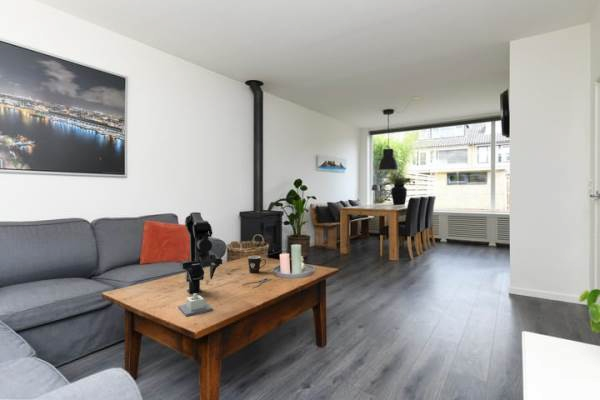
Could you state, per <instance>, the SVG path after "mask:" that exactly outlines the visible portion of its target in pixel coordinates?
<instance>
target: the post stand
mask: <svg viewBox="0 0 600 400" xmlns="http://www.w3.org/2000/svg"><path fill="white" fill-rule="evenodd" d="M197 296H198V292H197V293H192V297H193V300H196V299H197ZM177 309H178V310H179V311H180V312H181V313H182V314H183V315H184V317H189V316H193V315H198V314H202V313H207V312H211V311H213V310H214V309H213V307H212V306H211V305H210V304H208V303H207V302H206V301H205V300H204V308H200V309H195V310H190V309H189V308H188V307H187V303H186V304H181V305H178V306H177Z"/></svg>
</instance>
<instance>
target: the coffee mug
mask: <svg viewBox="0 0 600 400" xmlns="http://www.w3.org/2000/svg"><path fill="white" fill-rule="evenodd" d="M247 261H248V270H249V274H258V273H260V269H262V268H263V267H265V265H266V263H267V260H266V259H262V258H261V256H259V255H251V256H248V257H247ZM262 261H264V264H263V265H262V266H261V262H262Z"/></svg>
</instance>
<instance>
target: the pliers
mask: <svg viewBox="0 0 600 400" xmlns="http://www.w3.org/2000/svg"><path fill="white" fill-rule="evenodd" d="M271 280H272V279H271V278H268V277H266V278H263V279H260V280H257V281H252V282H246V283H243V284H241V286H242V287H243V286H246V285H248V284H257V283H258V285H255V286H253V287H252V289H255V288H258V287H260V286H261V285H262V284H264V283H266V282H269V281H271Z"/></svg>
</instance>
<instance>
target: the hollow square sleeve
mask: <svg viewBox="0 0 600 400" xmlns="http://www.w3.org/2000/svg"><path fill="white" fill-rule="evenodd" d="M204 301H205V298H204V297H202V296H201V295H197V299H196V300H193V296H190V297H186V304H187V307H188V308H189V309H190V310H195V309H200V308H204Z"/></svg>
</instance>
